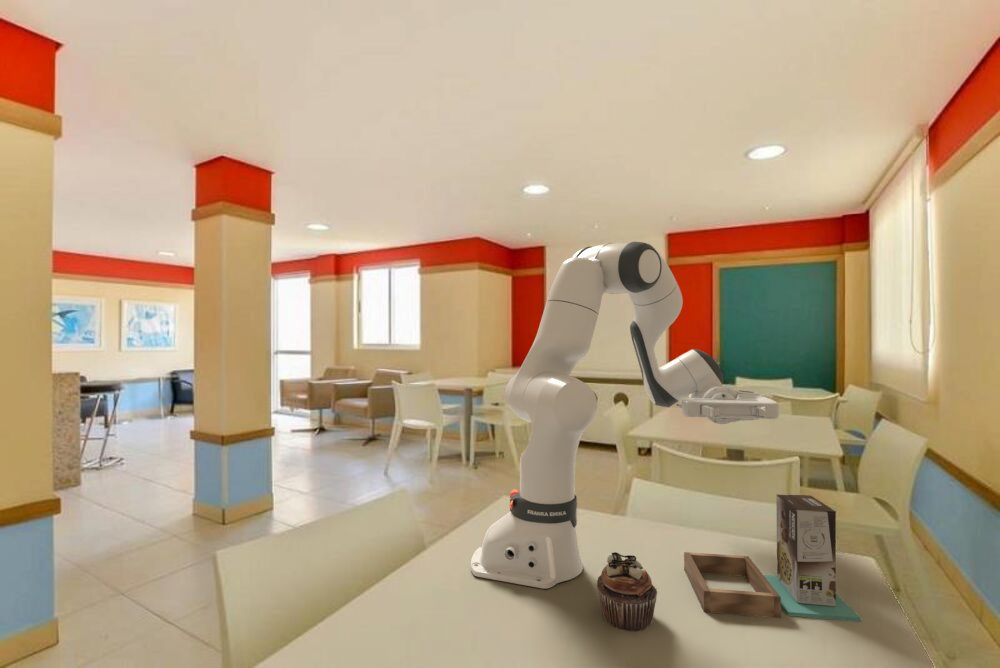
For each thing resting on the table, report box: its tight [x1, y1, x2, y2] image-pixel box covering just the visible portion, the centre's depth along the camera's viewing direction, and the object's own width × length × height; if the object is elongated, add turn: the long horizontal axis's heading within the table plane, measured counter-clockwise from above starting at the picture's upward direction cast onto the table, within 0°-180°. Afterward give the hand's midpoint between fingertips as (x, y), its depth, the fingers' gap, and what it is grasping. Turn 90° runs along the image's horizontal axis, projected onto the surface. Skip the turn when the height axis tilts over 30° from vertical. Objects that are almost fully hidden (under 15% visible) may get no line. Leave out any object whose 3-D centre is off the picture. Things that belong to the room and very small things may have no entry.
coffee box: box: [775, 494, 837, 606], centre depth 87 cm, size 9×6×16 cm
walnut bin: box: [683, 551, 782, 619], centre depth 88 cm, size 12×15×4 cm
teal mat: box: [763, 574, 862, 622], centre depth 86 cm, size 11×13×1 cm
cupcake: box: [596, 551, 658, 632], centre depth 80 cm, size 10×10×10 cm
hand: (739, 413), depth 103 cm, fingers open, 8 cm apart
